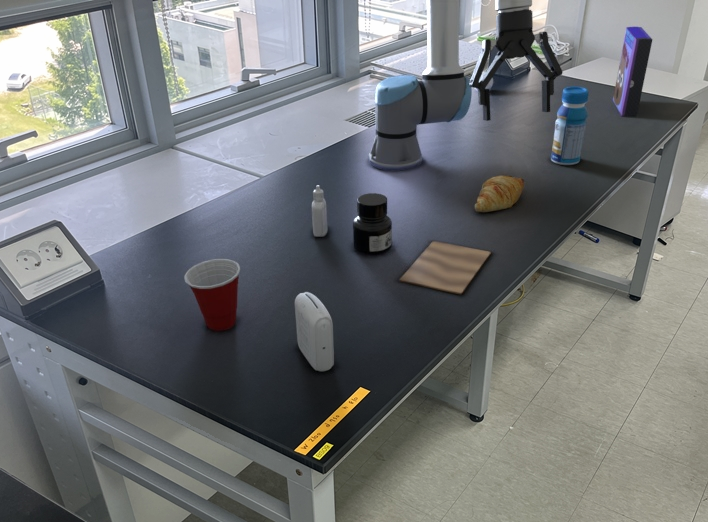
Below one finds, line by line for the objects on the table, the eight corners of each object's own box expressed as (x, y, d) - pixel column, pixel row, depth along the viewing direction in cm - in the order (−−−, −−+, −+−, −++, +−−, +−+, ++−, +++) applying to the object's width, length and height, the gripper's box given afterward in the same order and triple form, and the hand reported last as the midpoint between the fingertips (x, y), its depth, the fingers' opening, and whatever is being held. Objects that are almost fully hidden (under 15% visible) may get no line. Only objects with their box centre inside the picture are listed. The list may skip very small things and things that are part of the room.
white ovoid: (468, 93, 265) (470, 72, 261) (477, 88, 270) (478, 68, 265) (494, 97, 260) (495, 76, 256) (502, 92, 265) (504, 71, 261)
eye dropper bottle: (334, 230, 177) (332, 183, 170) (320, 239, 174) (318, 191, 167) (320, 226, 179) (317, 179, 172) (306, 234, 176) (303, 188, 169)
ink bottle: (378, 260, 164) (378, 211, 157) (345, 251, 168) (344, 203, 161) (399, 242, 171) (399, 195, 164) (366, 234, 175) (366, 187, 168)
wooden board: (433, 242, 170) (433, 240, 170) (490, 253, 165) (491, 251, 165) (399, 281, 156) (399, 279, 156) (461, 294, 151) (461, 293, 150)
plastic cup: (195, 311, 149) (185, 259, 142) (247, 307, 150) (241, 255, 143) (190, 340, 140) (180, 287, 133) (246, 336, 141) (239, 282, 134)
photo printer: (337, 368, 131) (335, 310, 124) (315, 374, 130) (312, 316, 123) (315, 339, 139) (312, 283, 132) (295, 345, 138) (290, 289, 130)
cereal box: (612, 100, 252) (626, 26, 238) (627, 100, 252) (641, 26, 238) (621, 116, 238) (636, 38, 224) (636, 116, 238) (652, 38, 224)
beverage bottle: (573, 168, 204) (585, 95, 192) (545, 162, 208) (554, 91, 197) (584, 158, 209) (597, 87, 198) (557, 153, 214) (567, 83, 202)
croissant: (485, 230, 182) (500, 208, 175) (456, 204, 184) (470, 181, 177) (527, 201, 194) (543, 179, 188) (500, 177, 196) (514, 154, 190)
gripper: (461, 17, 148) (467, 124, 156) (578, 1, 150) (577, 109, 158) (451, 19, 155) (457, 122, 163) (563, 4, 157) (563, 107, 165)
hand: (516, 116), depth 161 cm, fingers open, 13 cm apart
